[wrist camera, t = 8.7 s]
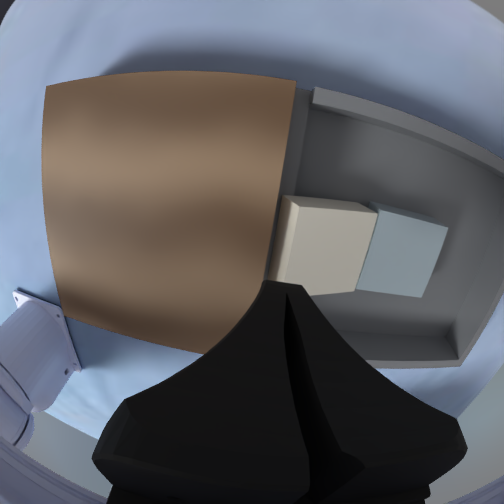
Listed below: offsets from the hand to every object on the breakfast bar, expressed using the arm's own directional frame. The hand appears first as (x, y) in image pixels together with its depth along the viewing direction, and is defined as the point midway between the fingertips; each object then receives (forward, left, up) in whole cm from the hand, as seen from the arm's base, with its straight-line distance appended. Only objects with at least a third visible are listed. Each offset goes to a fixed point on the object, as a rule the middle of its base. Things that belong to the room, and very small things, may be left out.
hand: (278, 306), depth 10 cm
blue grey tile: (0, -8, -6) cm, 10 cm away
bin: (0, -9, -9) cm, 12 cm away
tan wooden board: (0, +7, -9) cm, 11 cm away
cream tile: (0, -2, -7) cm, 8 cm away
